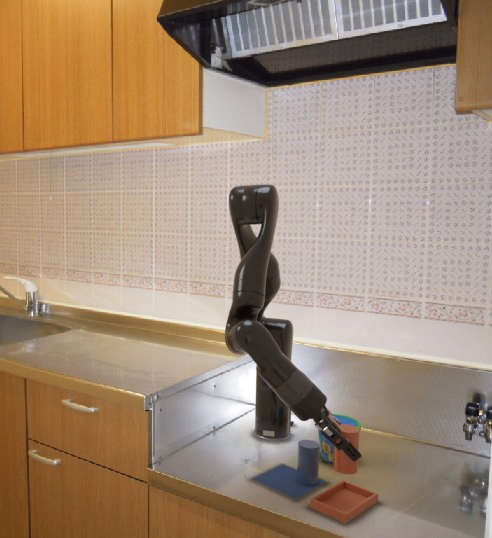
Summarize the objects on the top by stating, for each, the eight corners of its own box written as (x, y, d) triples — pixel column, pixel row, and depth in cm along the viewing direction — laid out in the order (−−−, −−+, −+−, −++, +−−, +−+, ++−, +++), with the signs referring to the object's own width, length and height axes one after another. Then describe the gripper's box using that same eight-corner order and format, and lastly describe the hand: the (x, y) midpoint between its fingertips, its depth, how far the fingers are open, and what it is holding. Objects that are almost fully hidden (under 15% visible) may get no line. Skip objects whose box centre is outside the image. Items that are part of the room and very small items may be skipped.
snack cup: (361, 476, 135) (363, 435, 134) (314, 470, 139) (316, 430, 138) (357, 450, 150) (358, 412, 149) (315, 445, 153) (316, 408, 152)
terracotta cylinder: (341, 462, 125) (342, 422, 124) (361, 469, 121) (363, 429, 120) (329, 468, 122) (330, 427, 121) (349, 476, 118) (352, 434, 117)
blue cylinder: (304, 474, 136) (305, 438, 135) (322, 481, 132) (323, 444, 131) (292, 480, 133) (293, 443, 132) (310, 488, 129) (312, 450, 128)
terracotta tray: (342, 488, 130) (343, 479, 130) (377, 502, 124) (378, 493, 123) (309, 508, 121) (310, 498, 121) (345, 524, 115) (346, 514, 115)
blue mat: (282, 465, 141) (282, 464, 141) (326, 483, 132) (326, 481, 132) (251, 479, 134) (252, 478, 134) (295, 500, 125) (295, 498, 125)
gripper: (315, 392, 114) (376, 456, 113) (309, 372, 128) (363, 429, 127) (287, 416, 116) (347, 479, 115) (284, 394, 130) (337, 450, 128)
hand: (355, 452), depth 121 cm, fingers closed on terracotta cylinder, 4 cm apart
